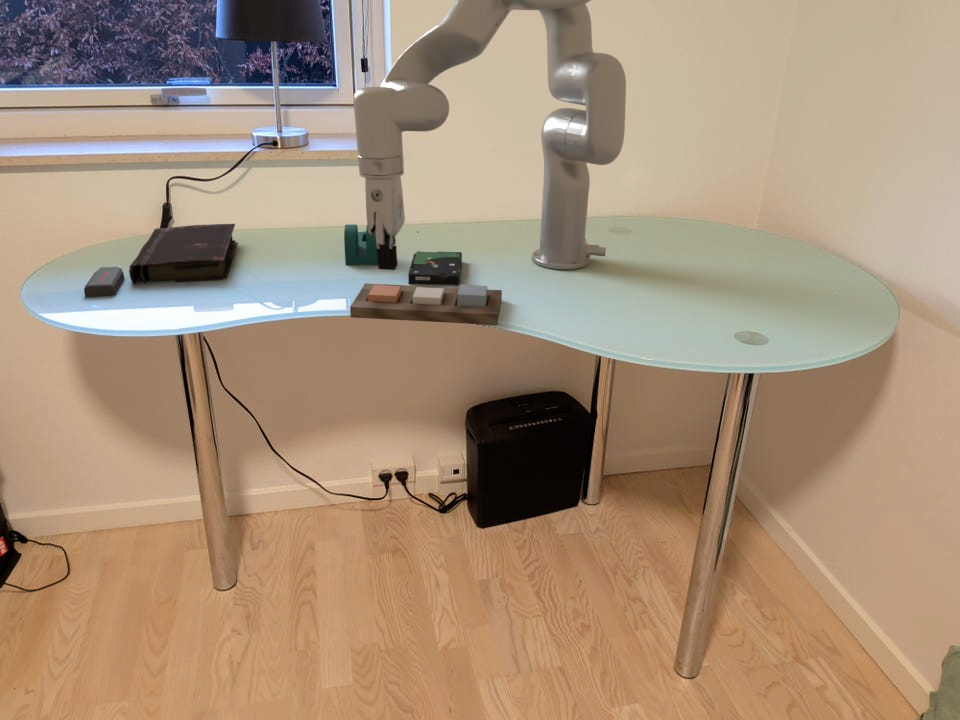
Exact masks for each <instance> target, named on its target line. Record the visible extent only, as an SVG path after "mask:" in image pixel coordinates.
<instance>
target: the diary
mask: <svg viewBox="0 0 960 720" xmlns="http://www.w3.org/2000/svg"><path fill="white" fill-rule="evenodd" d="M235 226H236V223H219V224H218V223H215V224H213V223H212V224H209V223H208V224H193V225H180V226H172V227H165V228H164V227H161V228H160V227H159V228H154V230H153V231H152V233H151V234H150V236H149V238H148V239H147V241H146V242H145V243H144V244H143V246H142V248H141V249H140V251H139V253H138V254H137V256H136V258H135V259H134V260H133V261H132V263H131V264H130V265H129V269H128V273H129V277H130V281H131V283H132V285H137V283H138V282H139V280H140V278H142V280H143V282H144V284H145V285H146V284H147V282H148V281H149V280H150V282H151V283H157V282H158V283H159V282H160V283H161V282H174V283H193V282H195V283H196V282H213V281H216V282H218V281H223V280H226V279H228V276H229V274H230V271H231V267H232V263H233V260H234V261H235V254H234V251H235V250H236V249H237V246H238V244H239V243H238V242H237V240H234V239H233V232H234V229H235Z"/></svg>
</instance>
